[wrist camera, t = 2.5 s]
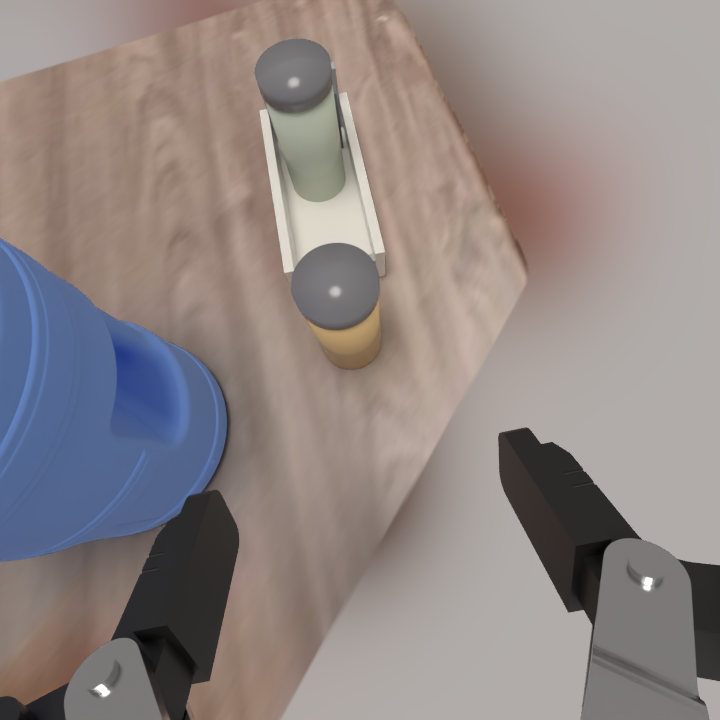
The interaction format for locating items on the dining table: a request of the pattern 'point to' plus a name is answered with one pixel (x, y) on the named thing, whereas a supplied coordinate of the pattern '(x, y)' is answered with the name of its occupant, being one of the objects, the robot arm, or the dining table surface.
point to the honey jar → (340, 302)
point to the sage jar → (304, 115)
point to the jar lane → (328, 218)
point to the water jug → (93, 418)
